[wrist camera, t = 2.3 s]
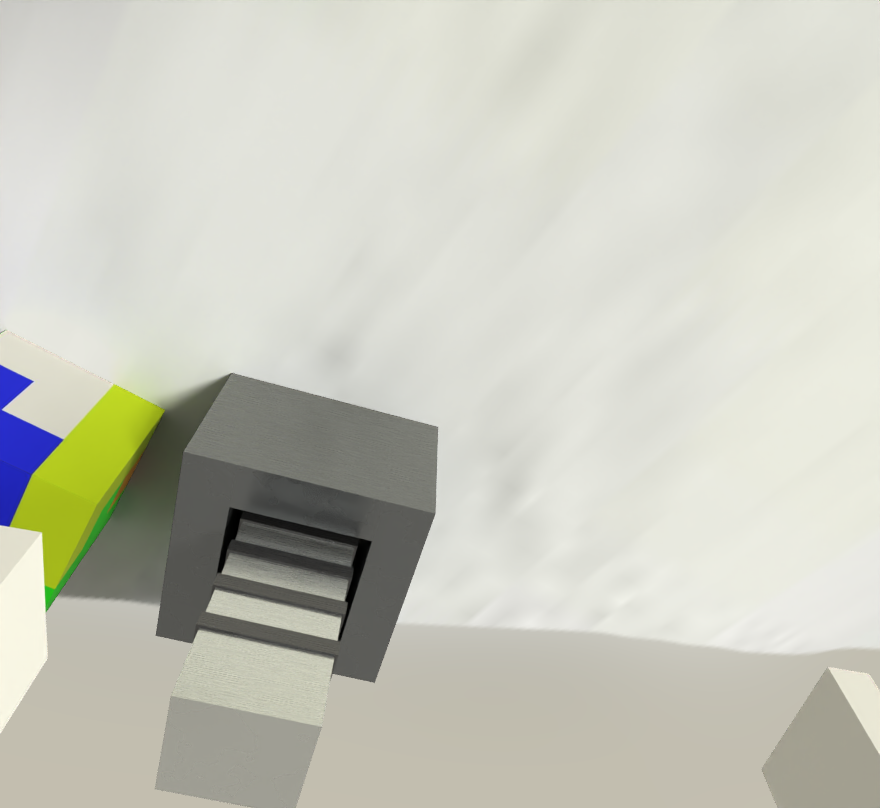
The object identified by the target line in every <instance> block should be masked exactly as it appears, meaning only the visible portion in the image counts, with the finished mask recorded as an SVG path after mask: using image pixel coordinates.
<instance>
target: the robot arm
mask: <svg viewBox="0 0 880 808" xmlns="http://www.w3.org/2000/svg"><path fill="white" fill-rule="evenodd" d="M47 652H48V651H47V630H46V609H45V588H44V567H43V546H42V532H36V531H30V530H25V529H19V528H13V527H7V526H1V525H0V733H1V731H2V730H3V728H4V727H5V725H6V724H7V722H8V720H9V719H10V717H11V716H12V714H13V712H14V711H15V709H16V708H17V706H18V704H19V703H20V701H21V700H22V698H23V697H24V695H25V693H26V692H27V690H28V688H29V687H30V685H31V684H32V682H33V681H34V679H35V677H36V676H37V674H38V673H39V671H40V670H41V668H42V666H43V665H44V663H45V662H46V660H47V658H48V653H47ZM762 772H763V774H764V777H765V779H766V781H767V784H768V786H769V788H770V791H771V793H772V796H773V798H774V800H775V803H776V805H777V807H778V808H880V690H879V689H878V687H877V686H876V684H875V682H874V681H873V679H872V678H871V676H870V675H869V674H866V673H861V672H855V671H849V670H843V669H837V668H831V667H827V669H826V670H825V672H824V673H823V675H822V676H821V678H820V680H819V681H818V683H817V684H816V686H815V687H814V689H813V691H812V692H811V693H810V695H809V697H808V698H807V700H806V701H805V703H804V704H803V706H802V707H801V709H800V710H799V712H798V713H797V715H796V717H795V718H794V720H793V721H792V723H791V724H790V726H789V727H788V729H787V730H786V732H785V734H784V735H783V737H782V738H781V740H780V741H779V743H778V744H777V746H776V747H775V749H774V750H773V752H772V754H771V755H770V757H769V758H768V760H767V761H766V763H765V764H764V766H763V768H762Z"/></svg>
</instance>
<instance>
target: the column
mask: <svg viewBox="0 0 880 808" xmlns="http://www.w3.org/2000/svg"><path fill="white" fill-rule="evenodd" d="M358 541H359V538H356V537H352V536H348V535H344V534H340V533H336V532H331V531H327V530H323V529H319V528H315V527H310V526H306V525H302V524H298V523H294V522H290V521H285V520H281V519H277V518H273V517H269V516H264V515H260V514H256V513H252V512H248V511H243V514H242V516H241V518H240V523H239V528H238V533H237V537H236V539H235V540H233V539H232V540H231V542H230V545H229V547H228V549H227V554H226V559H225V564H224V568H223V571H222V573H217V576H216V578H215V580H214V583H213V586H212V591H211V597H210V602H209V605H208V607H207V610H206V612H205V611H202V612H201V614H200V616H199V619H198V621H197V623H196V628H195V633H194V639H193V644H192V646H191V649H190V651H189V653H188V656H187V658H186V661H185V663H184V666H183V668H182V671H181V673H180V675H179V678H178V680H177V683H176V685H175V687H174V690H173V692H172V695H171V699H170V705H169V710H168V716H167V722H166V728H165V734H164V740H163V745H162V751H161V757H160V762H159V768H158V774H157V780H156V786H155V789H157V790H162V791H168V792H173V793H178V794H183V795H189V796H194V797H199V798H205V799H210V800H216V801H220V802H226V803H231V804H237V805H242V806H247V807H252V808H296V804H297V802H298V799H299V796H300V792H301V789H302V786H303V783H304V780H305V777H306V774H307V771H308V768H309V765H310V761H311V758H312V755H313V752H314V749H315V746H316V743H317V740H318V737H319V734H320V731H321V728H322V723H323V717H324V712H325V706H326V700H327V695H328V690H329V683H330V680H331V677H332V674H333V671H334V668H335V665H336V662H337V658H338V655H339V650H340V644H341V642H340V641H338V637H339V634H340V631H341V628H342V625H343V621H344V618H345V615H346V610H347V604H348V602H345V599H346V596H347V593H348V590H349V586H350V583H351V580H352V576H353V570H354V568H353V567H351V566H352V563H353V560H354V557H355V553H356V550H357V547H358Z"/></svg>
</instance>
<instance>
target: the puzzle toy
mask: <svg viewBox="0 0 880 808" xmlns="http://www.w3.org/2000/svg"><path fill="white" fill-rule="evenodd" d="M164 412H165V410H164V409H162V408H160V407H158V406H156V405H154V404H152V403H150V402H148V401H146V400H144V399H142V398H140V397H138V396H136V395H135V394H133V393H131V392H129V391H127V390H125V389H123V388H121V387H119V386H117V385H115V384H113V383H111V382H109V381H107V380H105V379H103V378H101V377H99V376H97V375H95V374H93V373H91V372H89V371H87V370H85V369H83V368H81V367H79V366H77V365H75V364H73V363H71V362H69V361H67V360H65V359H63V358H61V357H59V356H57V355H55V354H53V353H52V352H50V351H48V350H46V349H44V348H42V347H40V346H38V345H36V344H34V343H32V342H30V341H28V340H26V339H24V338H22V337H20V336H18V335H16V334H14V333H12V332H10V331H8V330H5V331H4V332H2V333H1V334H0V525H1V526H7V527H13V528H19V529H25V530H30V531H36V532H42V546H43V567H44V588H45V609H46V612H47V610H48V609H49V607H50V606H51V604H52V603H53V601H54V600H55V598H56V597H57V595H58V594H59V593H60V591H61V590H62V588H63V587H64V585H65V584H66V582H67V581H68V579H69V578H70V576H71V575H72V573H73V572H74V570H75V569H76V567H77V566H78V564H79V563H80V562H81V560H82V559H83V557H84V556H85V554H86V553H87V551H88V550H89V548H90V547H91V545H92V544H93V542H94V541H95V539H96V538H97V536H98V535H99V533H100V532H101V531H102V529H103V528H104V526H105V525H106V523H107V522H108V520H109V519H110V517H111V515H112V513H113V511H114V509H115V507H116V505H117V503H118V501H119V499H120V497H121V495H122V493H123V491H124V489H125V487H126V486H127V484H128V482H129V480H130V478H131V476H132V474H133V472H134V470H135V468H136V466H137V464H138V462H139V460H140V458H141V456H142V454H143V452H144V451H145V449H146V447H147V445H148V443H149V441H150V439H151V437H152V435H153V433H154V431H155V429H156V427H157V425H158V423H159V421H160V419H161V418H162V416H163V414H164Z"/></svg>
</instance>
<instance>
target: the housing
mask: <svg viewBox="0 0 880 808" xmlns="http://www.w3.org/2000/svg"><path fill="white" fill-rule="evenodd" d="M437 444H438V427H436V426H432V425H428V424H424V423H420V422H416V421H413V420H409V419H405V418H401V417H397V416H393V415H390V414H386V413H382V412H378V411H374V410H371V409H367V408H363V407H359V406H355V405H351V404H348V403H344V402H340V401H336V400H332V399H329V398H325V397H321V396H317V395H313V394H309V393H306V392H302V391H298V390H294V389H290V388H287V387H283V386H279V385H275V384H271V383H267V382H264V381H260V380H256V379H252V378H248V377H245V376H241V375H237V374H233V373H231V375H230V377H229V378H228V380H227V382H226V383H225V385H224V386H223V388H222V390H221V391H220V393H219V395H218V396H217V398H216V399H215V401H214V403H213V404H212V406H211V408H210V409H209V411H208V412H207V414H206V416H205V417H204V419H203V421H202V422H201V424H200V425H199V427H198V429H197V430H196V432H195V434H194V435H193V437H192V438H191V440H190V442H189V443H188V445H187V447H186V448H185V450H184V451H183V458H182V465H181V471H180V478H179V484H178V491H177V498H176V504H175V511H174V518H173V524H172V531H171V538H170V544H169V551H168V558H167V564H166V571H165V578H164V584H163V591H162V598H161V604H160V611H159V618H158V624H157V631H156V636H160V637H165V638H169V639H174V640H179V641H183V642H188V643H193V639H194V633H195V628H196V623H197V621H198V619H199V616H200V614H201V612H202V611H205V612H206V610H207V607H208V605H209V602H210V597H211V591H212V586H213V583H214V580H215V578H216V576H217V573H222V571H223V568H224V564H225V559H226V554H227V549H228V547H229V545H230V542H231V540H232V539H233V540H235V539H236V537H237V533H238V528H239V523H240V518H241V516H242V514H243V511H248V512H252V513H256V514H260V515H264V516H269V517H273V518H277V519H281V520H285V521H290V522H294V523H298V524H302V525H306V526H310V527H315V528H319V529H323V530H327V531H331V532H336V533H340V534H344V535H348V536H352V537H356V538H359V541H358V547H357V550H356V553H355V557H354V560H353V563H352V566H351V567H353V568H354V570H353V576H352V580H351V583H350V586H349V590H348V593H347V596H346V599H345V602H348V604H347V610H346V615H345V618H344V621H343V625H342V628H341V631H340V634H339V637H338V641H340V642H341V644H340V650H339V655H338V658H337V662H336V665H335V668H334V671H333V674H337V675H341V676H346V677H351V678H355V679H360V680H365V681H370V682H375V680H376V677H377V674H378V672H379V669H380V666H381V663H382V660H383V658H384V655H385V652H386V650H387V647H388V644H389V641H390V638H391V635H392V633H393V630H394V627H395V625H396V622H397V619H398V616H399V613H400V611H401V608H402V605H403V602H404V600H405V597H406V594H407V591H408V588H409V586H410V583H411V580H412V577H413V575H414V572H415V569H416V566H417V563H418V561H419V558H420V555H421V552H422V549H423V547H424V544H425V541H426V538H427V536H428V533H429V530H430V527H431V524H432V522H433V519H434V516H435V509H436V477H437Z"/></svg>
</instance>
